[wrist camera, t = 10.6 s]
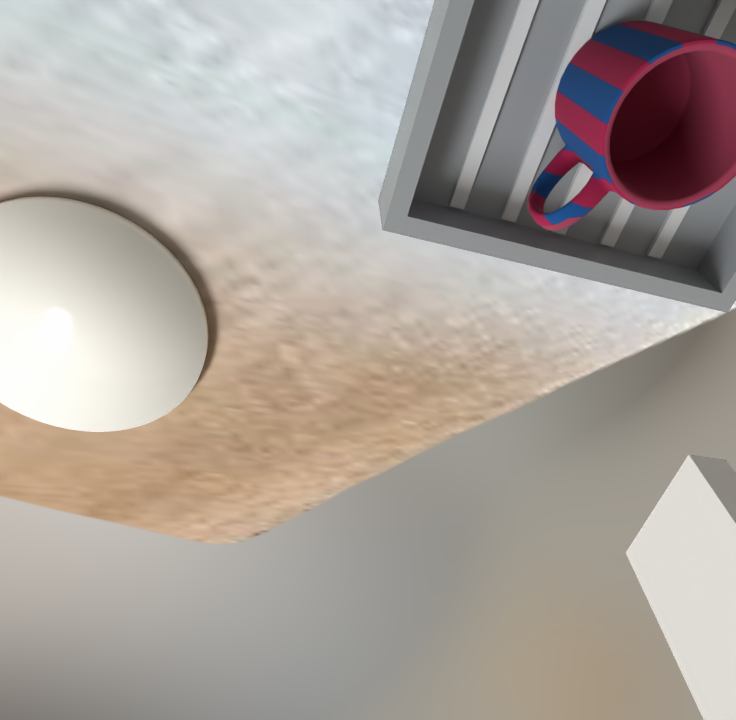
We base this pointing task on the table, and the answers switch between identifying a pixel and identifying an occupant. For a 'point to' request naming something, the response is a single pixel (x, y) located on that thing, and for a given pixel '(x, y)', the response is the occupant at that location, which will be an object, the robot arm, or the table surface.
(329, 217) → the table surface
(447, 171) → the rack
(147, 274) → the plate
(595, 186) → the mug
